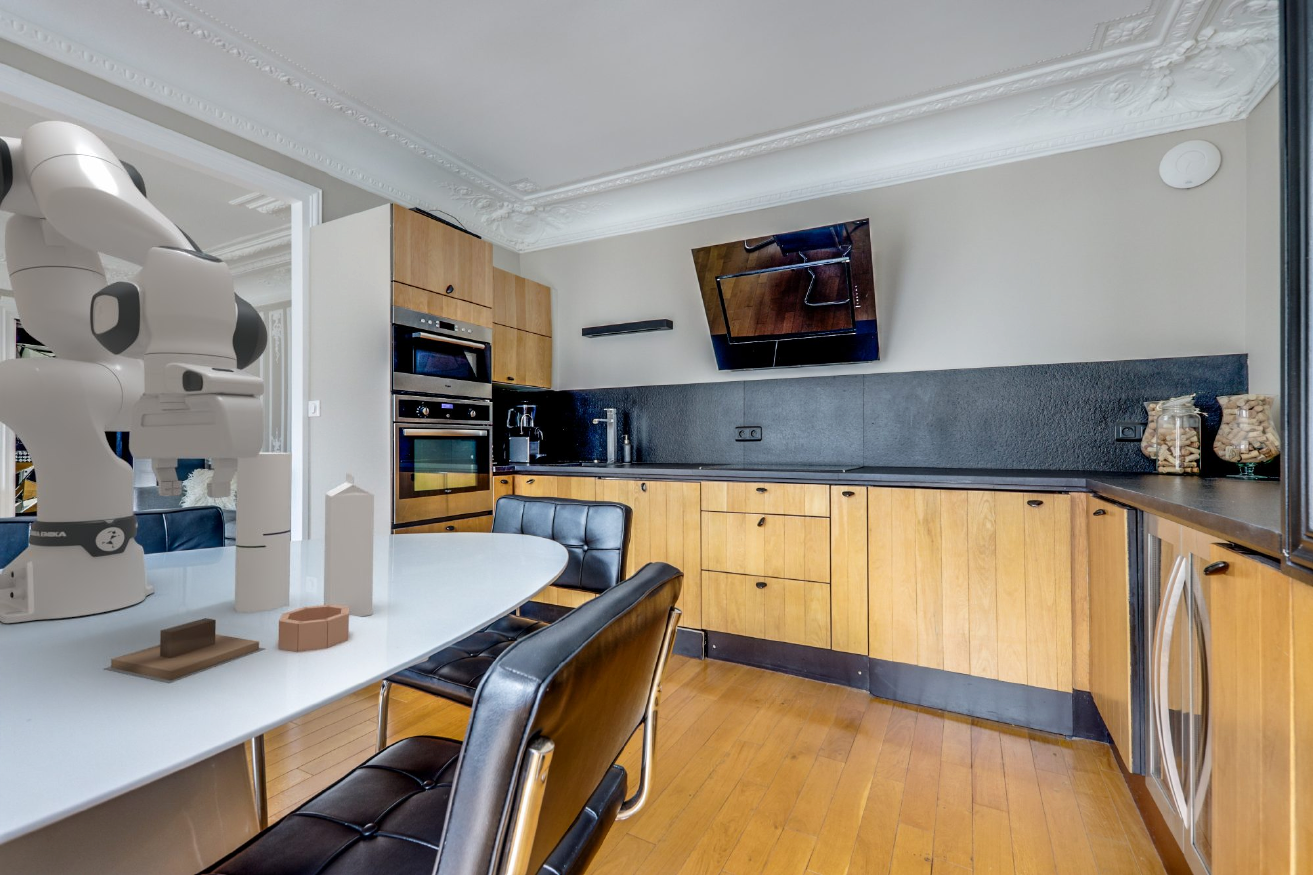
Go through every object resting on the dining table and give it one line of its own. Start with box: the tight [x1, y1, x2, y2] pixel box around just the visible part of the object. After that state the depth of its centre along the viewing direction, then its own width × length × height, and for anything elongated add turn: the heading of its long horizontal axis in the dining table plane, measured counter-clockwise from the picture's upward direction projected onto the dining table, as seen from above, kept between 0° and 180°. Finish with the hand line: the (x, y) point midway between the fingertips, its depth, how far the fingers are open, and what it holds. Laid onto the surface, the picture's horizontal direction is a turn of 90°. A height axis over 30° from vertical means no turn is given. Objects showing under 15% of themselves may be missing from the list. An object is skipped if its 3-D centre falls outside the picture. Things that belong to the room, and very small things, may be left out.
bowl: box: [277, 604, 350, 653], centre depth 77 cm, size 8×8×5 cm
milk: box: [323, 472, 375, 618], centre depth 92 cm, size 6×6×22 cm
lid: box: [110, 617, 260, 680], centre depth 70 cm, size 10×10×4 cm
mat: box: [103, 647, 266, 684], centre depth 70 cm, size 11×11×1 cm
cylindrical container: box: [234, 452, 293, 613], centre depth 92 cm, size 7×7×25 cm
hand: (194, 496), depth 71 cm, fingers open, 8 cm apart
